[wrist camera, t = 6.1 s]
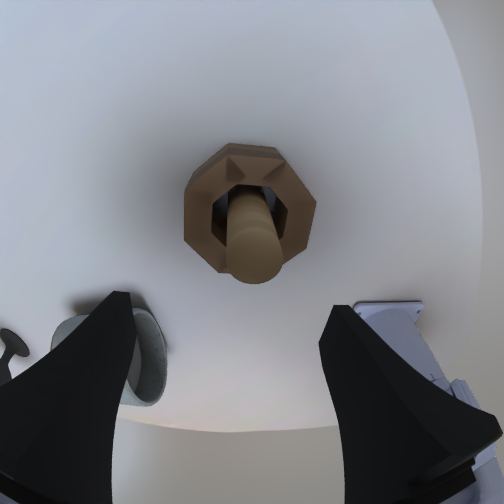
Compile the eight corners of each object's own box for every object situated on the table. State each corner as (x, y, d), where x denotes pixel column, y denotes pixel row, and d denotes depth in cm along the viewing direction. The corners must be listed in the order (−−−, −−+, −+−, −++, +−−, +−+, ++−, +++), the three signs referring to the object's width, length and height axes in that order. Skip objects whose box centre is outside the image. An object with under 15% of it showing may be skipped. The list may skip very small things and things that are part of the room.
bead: (288, 247, 19) (299, 277, 16) (191, 240, 19) (184, 270, 16) (306, 151, 16) (323, 165, 13) (195, 141, 15) (186, 152, 12)
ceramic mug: (64, 300, 21) (30, 367, 14) (139, 287, 20) (112, 368, 14) (118, 371, 26) (104, 432, 20) (185, 367, 26) (180, 436, 20)
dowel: (260, 213, 18) (276, 286, 12) (225, 209, 18) (222, 280, 11) (266, 181, 17) (289, 239, 11) (231, 175, 17) (230, 231, 10)
